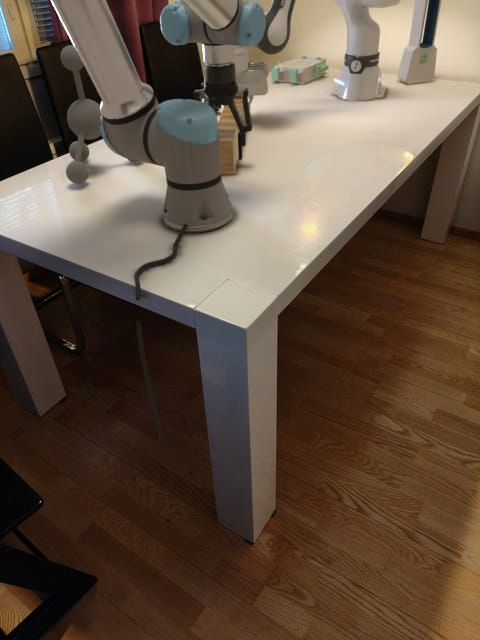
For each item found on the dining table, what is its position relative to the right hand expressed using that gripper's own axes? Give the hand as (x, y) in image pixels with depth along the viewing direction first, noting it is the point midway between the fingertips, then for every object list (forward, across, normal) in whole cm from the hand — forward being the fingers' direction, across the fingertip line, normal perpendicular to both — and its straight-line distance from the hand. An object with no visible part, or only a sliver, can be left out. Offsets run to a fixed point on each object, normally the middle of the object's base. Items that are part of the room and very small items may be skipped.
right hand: (237, 110), depth 158 cm
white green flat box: (+5, -21, -64) cm, 68 cm away
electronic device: (+5, -67, -51) cm, 85 cm away
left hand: (+2, 0, +38) cm, 38 cm away
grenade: (+4, +10, -13) cm, 17 cm away
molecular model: (+4, +34, +38) cm, 50 cm away
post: (+4, 0, +19) cm, 19 cm away
